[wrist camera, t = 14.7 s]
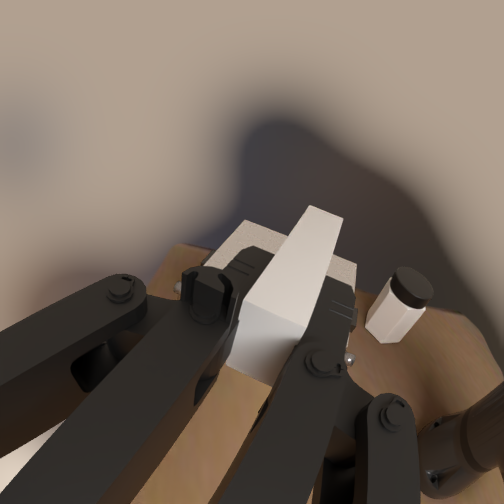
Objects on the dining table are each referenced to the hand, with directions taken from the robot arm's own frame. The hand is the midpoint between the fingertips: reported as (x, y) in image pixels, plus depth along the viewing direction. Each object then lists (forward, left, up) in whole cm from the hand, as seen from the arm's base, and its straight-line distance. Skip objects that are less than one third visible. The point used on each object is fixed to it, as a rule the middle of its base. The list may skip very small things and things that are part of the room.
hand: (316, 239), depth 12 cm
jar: (-20, -29, -28) cm, 45 cm away
